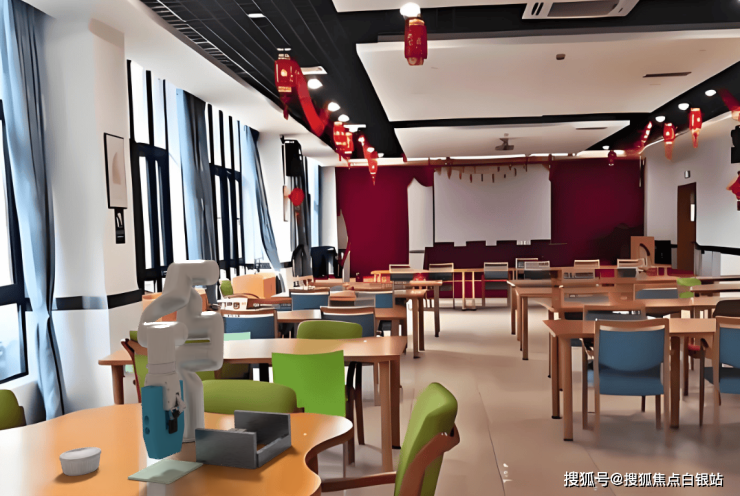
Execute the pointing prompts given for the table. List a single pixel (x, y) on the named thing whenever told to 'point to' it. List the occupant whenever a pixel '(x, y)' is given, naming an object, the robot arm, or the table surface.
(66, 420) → the table surface
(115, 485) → the table surface
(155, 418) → the block
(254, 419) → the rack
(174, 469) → the mat
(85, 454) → the ramekin
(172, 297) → the robot arm
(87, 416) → the table surface
